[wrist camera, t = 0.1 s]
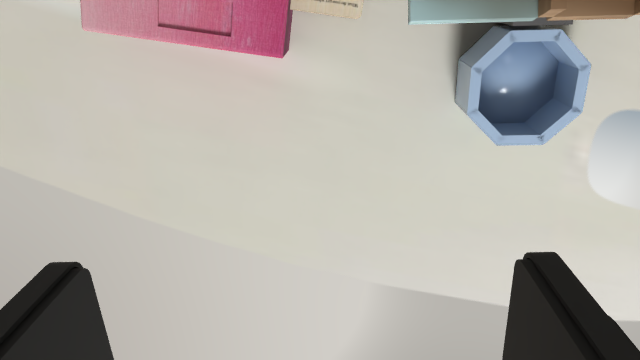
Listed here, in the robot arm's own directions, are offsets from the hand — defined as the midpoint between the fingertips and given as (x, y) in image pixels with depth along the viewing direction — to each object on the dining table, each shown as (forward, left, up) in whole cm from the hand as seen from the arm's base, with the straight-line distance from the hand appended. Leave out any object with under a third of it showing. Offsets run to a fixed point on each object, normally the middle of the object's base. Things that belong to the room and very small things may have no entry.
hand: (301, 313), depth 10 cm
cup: (+1, +15, -31) cm, 35 cm away
